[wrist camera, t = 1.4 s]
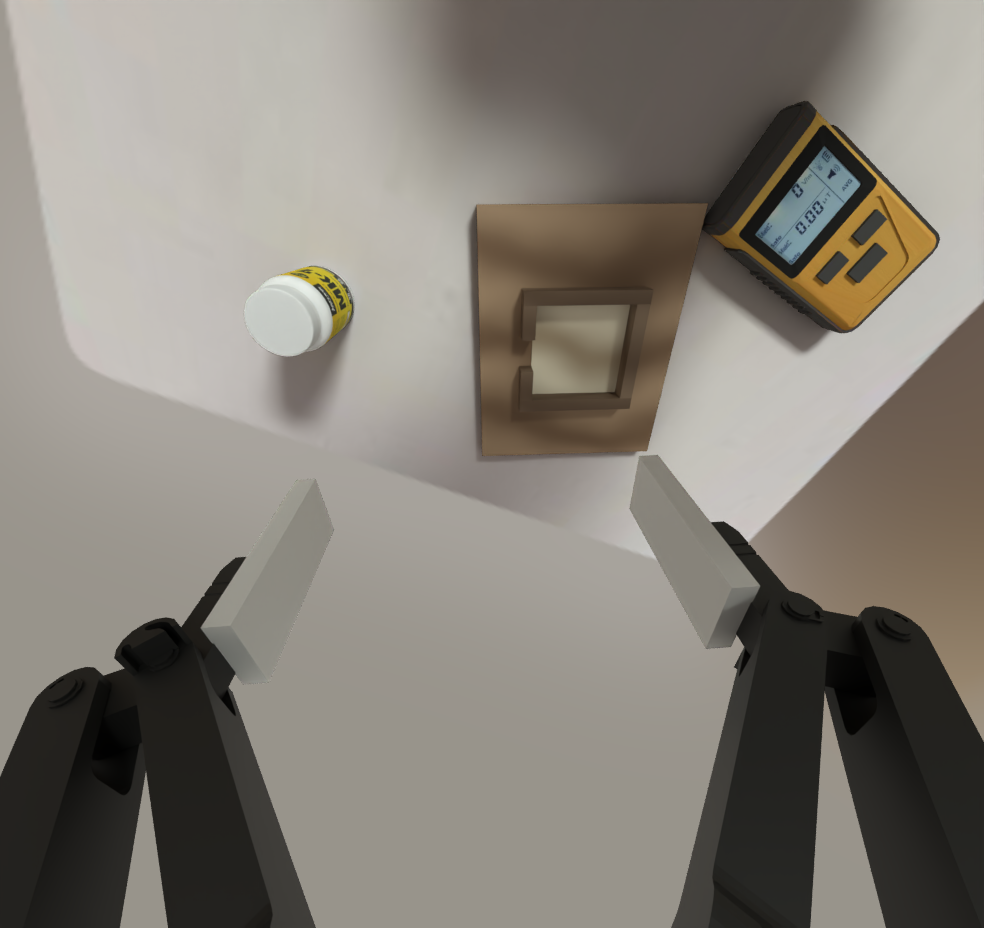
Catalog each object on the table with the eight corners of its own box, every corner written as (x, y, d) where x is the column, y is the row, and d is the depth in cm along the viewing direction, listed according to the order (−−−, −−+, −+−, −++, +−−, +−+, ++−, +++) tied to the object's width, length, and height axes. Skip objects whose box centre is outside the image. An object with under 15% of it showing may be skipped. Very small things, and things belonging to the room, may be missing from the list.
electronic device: (818, 332, 34) (849, 343, 31) (690, 231, 29) (714, 234, 26) (913, 234, 30) (958, 238, 27) (783, 100, 25) (823, 87, 23)
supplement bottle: (367, 297, 30) (336, 323, 23) (334, 342, 32) (296, 379, 25) (311, 249, 28) (259, 261, 21) (279, 299, 30) (221, 326, 23)
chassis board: (476, 204, 27) (477, 204, 25) (699, 203, 28) (719, 202, 26) (482, 449, 38) (482, 464, 36) (642, 444, 39) (653, 459, 37)
